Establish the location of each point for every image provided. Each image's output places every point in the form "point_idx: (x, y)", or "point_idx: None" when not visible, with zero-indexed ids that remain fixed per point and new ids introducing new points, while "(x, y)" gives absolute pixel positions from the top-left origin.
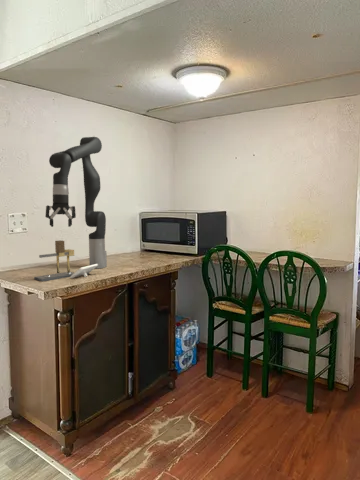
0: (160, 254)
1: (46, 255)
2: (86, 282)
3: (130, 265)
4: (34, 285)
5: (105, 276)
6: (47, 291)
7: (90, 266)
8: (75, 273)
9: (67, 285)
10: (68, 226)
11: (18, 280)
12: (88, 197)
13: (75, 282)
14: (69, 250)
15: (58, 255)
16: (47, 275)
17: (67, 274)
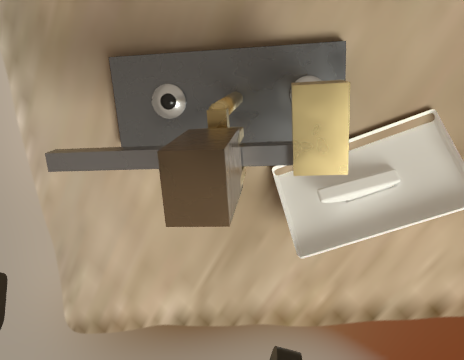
0: None
1: (98, 168)
2: (270, 310)
3: None
4: (71, 197)
5: (429, 267)
6: (77, 327)
7: (393, 230)
8: (285, 210)
9: (178, 299)
10: (272, 352)
11: (41, 21)
12: None
13: (234, 275)
14: (298, 175)
15: None
16: (174, 87)
17: (280, 128)
